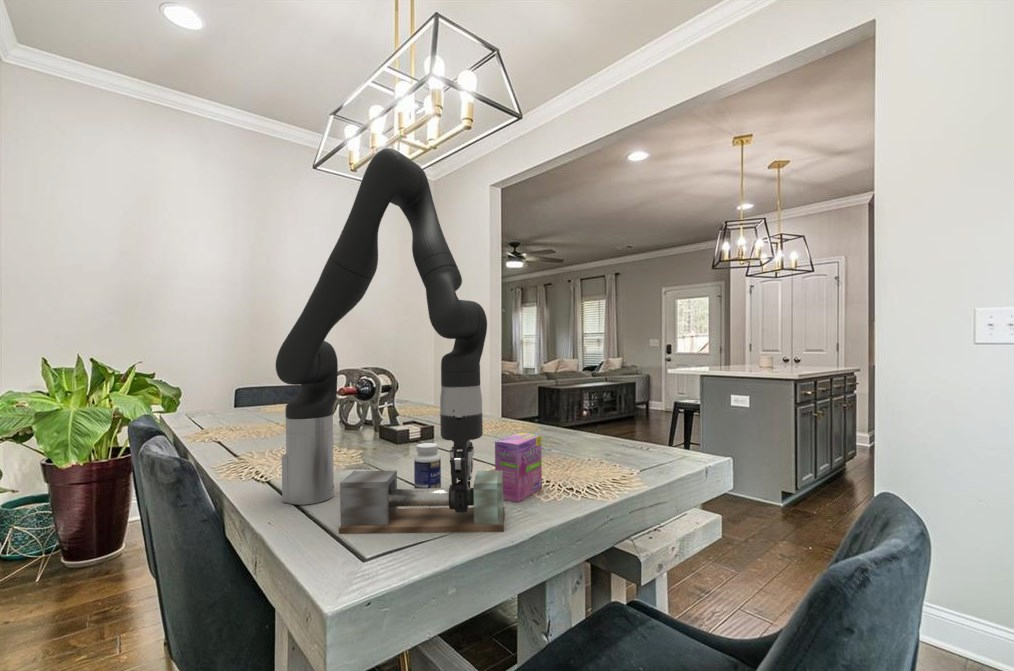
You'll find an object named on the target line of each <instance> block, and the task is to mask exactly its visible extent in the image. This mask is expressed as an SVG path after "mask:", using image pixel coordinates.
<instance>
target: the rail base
mask: <svg viewBox="0 0 1014 671" xmlns="http://www.w3.org/2000/svg"><path fill="white" fill-rule="evenodd" d="M473 488H474V505H473V507H472V506H471V507H470V506H469V507H468V510H467V512H463V513H457V512H455V509H449V507H422V508H421V507H416V508H415V507H412V508H411V507H410V508H408V507H407V508H405V507H404V508H398V507H389V496H388V494H389V490H390V489H398V471H397V470H393V469H392V470H354V471H352V472H351V473H350V474H349V475H348V476H346V477H344V479H343V480H341V481H340V482H339V491H340V492H339V497H340V498H339V502H340V504H339V507H340V526H339V527H338V535H348V534H350V535H353V534H357V535H358V534H417V533H418V534H421V533H430V534H431V533H432V534H433V533H481V532H482V533H483V532H485V533H486V532H487V533H489V532H491V533H493V532H496V533H497V532H498V533H499V532H504V531H505V513H506V511H505V508H506V507H505V506H504V500H503V470H495V469H494V470H476V474H475V477H474V481H473Z"/></svg>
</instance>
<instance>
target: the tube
mask: <svg viewBox="0 0 1014 671" xmlns="http://www.w3.org/2000/svg"><path fill="white" fill-rule="evenodd" d="M451 485H452V484H450V485H449V487H441V488H422V489H414V488H397V489H390V490H389V494H388V496H389V507H397V508H399V507H400V508H401V507H448V508H449V509H455V493H454V491H453V490H452V488H451ZM468 506H474V487H470V488H468Z"/></svg>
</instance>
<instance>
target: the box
mask: <svg viewBox="0 0 1014 671" xmlns="http://www.w3.org/2000/svg"><path fill="white" fill-rule="evenodd" d="M494 461H495V462H494V470H503V501H507V502H512V503H520V502H521V501H523V500H525V499H526V498H528V497H529V496H531V495H533V494H535V493H536V492H539V490H541V489H543V480H542V479H543V478H542V477H543V476H542V473H543V472H542V471H543V470H542V469H543V468H542V466H543V465H542V434H537V433H536V434H535V433H528V432H518V433H515V434H513V435H509V436H508V437H505V438H502V439H499V440H496V441H494Z"/></svg>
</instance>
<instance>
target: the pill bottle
mask: <svg viewBox="0 0 1014 671" xmlns="http://www.w3.org/2000/svg"><path fill="white" fill-rule="evenodd" d="M438 451H439V444H438V443H434V442H426V443H425V442H424V443H419V444H417V445H416V452H417V454H416V455H415V456H414V463H413V464H414V474H413V475H414V476H413V477H414V479H413V480H414V481H413V483H414V486H413V487H414V488H413V489H422V488H442V474H441V469H442V468H441V464H442V463H441V455H440V454H439V453H438Z"/></svg>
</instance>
